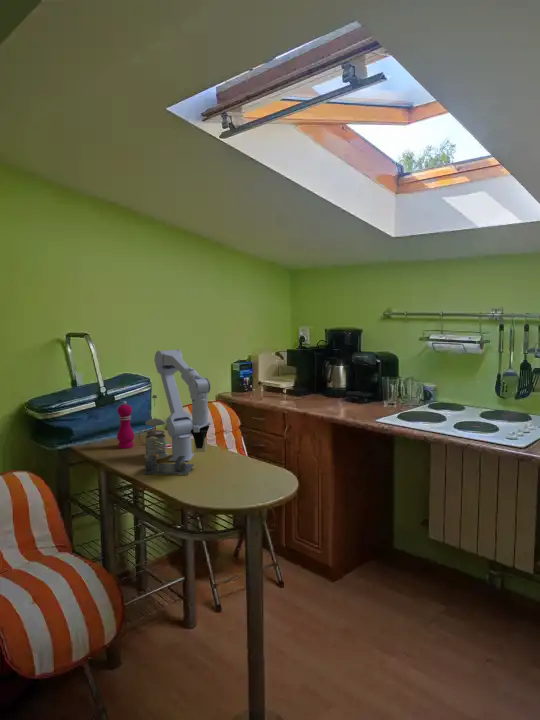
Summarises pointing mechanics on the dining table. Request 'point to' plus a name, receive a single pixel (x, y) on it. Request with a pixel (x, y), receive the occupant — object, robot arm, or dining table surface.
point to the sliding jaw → (151, 462)
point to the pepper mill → (125, 427)
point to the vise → (171, 467)
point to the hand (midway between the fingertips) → (200, 446)
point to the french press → (160, 437)
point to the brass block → (202, 447)
